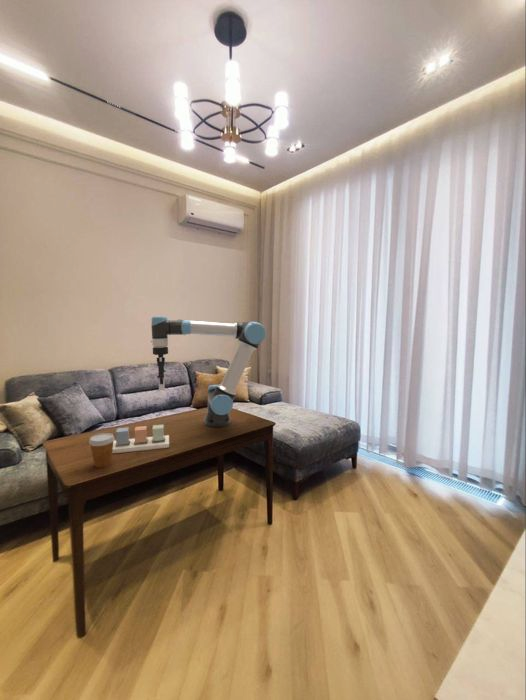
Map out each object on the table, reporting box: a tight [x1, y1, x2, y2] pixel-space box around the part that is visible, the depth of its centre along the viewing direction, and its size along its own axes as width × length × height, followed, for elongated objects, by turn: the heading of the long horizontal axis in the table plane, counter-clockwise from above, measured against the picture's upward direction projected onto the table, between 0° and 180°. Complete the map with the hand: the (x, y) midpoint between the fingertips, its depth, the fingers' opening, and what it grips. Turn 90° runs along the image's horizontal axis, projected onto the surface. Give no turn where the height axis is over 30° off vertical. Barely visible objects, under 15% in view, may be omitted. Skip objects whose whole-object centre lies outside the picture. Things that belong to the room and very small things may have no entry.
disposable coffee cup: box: [88, 432, 116, 469], centre depth 128 cm, size 10×10×12 cm
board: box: [112, 434, 170, 455], centre depth 147 cm, size 26×11×2 cm, turn 108°
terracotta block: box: [134, 425, 148, 443], centre depth 146 cm, size 5×5×6 cm
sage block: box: [152, 424, 165, 441], centre depth 149 cm, size 5×5×6 cm
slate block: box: [115, 427, 130, 445], centre depth 144 cm, size 5×5×6 cm
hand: (162, 387), depth 157 cm, fingers open, 13 cm apart
